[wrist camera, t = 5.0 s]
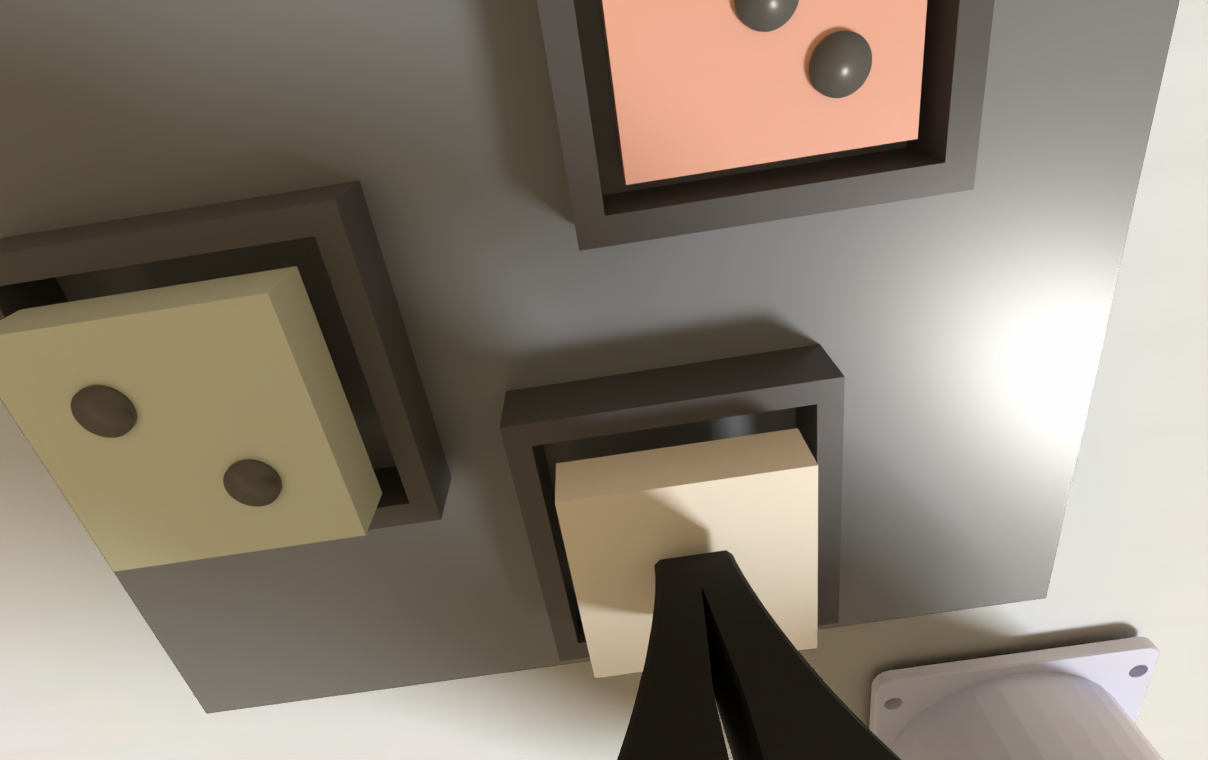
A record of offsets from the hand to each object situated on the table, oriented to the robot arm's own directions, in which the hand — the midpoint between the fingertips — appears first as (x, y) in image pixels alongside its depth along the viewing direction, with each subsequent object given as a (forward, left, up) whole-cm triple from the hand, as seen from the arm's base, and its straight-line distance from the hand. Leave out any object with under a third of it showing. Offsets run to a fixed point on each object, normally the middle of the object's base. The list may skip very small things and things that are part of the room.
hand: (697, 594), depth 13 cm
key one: (0, 0, -2) cm, 2 cm away
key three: (+9, -2, -3) cm, 10 cm away
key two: (+4, +8, -2) cm, 9 cm away
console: (+4, +2, -4) cm, 6 cm away
